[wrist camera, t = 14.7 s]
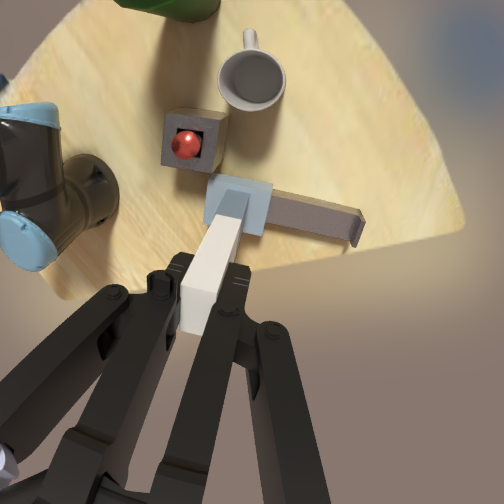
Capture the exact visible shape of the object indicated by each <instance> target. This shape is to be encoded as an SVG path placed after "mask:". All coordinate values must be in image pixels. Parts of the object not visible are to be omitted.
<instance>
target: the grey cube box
mask: <svg viewBox="0 0 504 504" xmlns="http://www.w3.org/2000/svg"><path fill="white" fill-rule="evenodd" d="M229 118H230V113H224V112H217V111H210V110H202V109H194V108H186V107H182V108H179V109H176V110H173V111H170V112H167V113H165V121H164V131H163V142H162V154H161V165H163V166H169V167H176V168H182V169H188V170H194V171H200V172H206V173H211V174H212V173H213V172H214V171H215V169H216V168H217V167H218V165H219V164H220V163H221V161H222V160H223V155H224V149H225V142H226V136H227V130H228V124H229ZM190 130H196V131H203V132H204V135H203V142H202V146H201V148H200V150H199V152H198V153H197V154H196V155H195V156H194V157H193V158H191V159H187V160H184V159H180V158H178V157H177V156H176V155H175V154H174V153H173V151H172V148H171V143H172V140H173V138H174V136H175V135H177V134H178V133H180V132H182V131H190Z"/></svg>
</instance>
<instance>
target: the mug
mask: <svg viewBox="0 0 504 504" xmlns="http://www.w3.org/2000/svg"><path fill="white" fill-rule="evenodd" d="M243 43H244V49H243V50H240V51H237V52H235V53H233V54H232V55H230V56H229V57H228V58H227V59H226V60H225V61H224V62H223V63H222V65H221V67H220V69H219V72H218V78H217V82H218V88H219V91H220V93H221V95H222V97H223V98H224V99H225V101H226V102H227V103H229V104H230V105H231V106H233V107H235V108H236V109H239V110H242V111H248V112H255V111H261V110H264V109H266V108H268V107H270V106H272V105H273V104H274V103H275V102H277V100H278V99H279V98H280V97H281V95H282V93H283V91H284V89H285V86H286V74H285V71H284V69H283V67H282V65H281V64H280V62H279V61H278V60H277V59H276V58H275V57H274V56H273V55H271V54H270V53H268V52H266V51H263V50H260V49H259V45H258V38H257V34H256V31H255V30H254V29H253V28H247V29H245V30H244V31H243Z"/></svg>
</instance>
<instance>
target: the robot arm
mask: <svg viewBox="0 0 504 504" xmlns="http://www.w3.org/2000/svg"><path fill="white" fill-rule="evenodd" d="M60 131H61V127H60V123H59V111H58V108H57V106H56V105H55V104H54V103H52V102H41V103H30V104H21V105H14V106H7V107H0V201H1V206H2V211H1V212H0V247H1V249H2V250H3V252H4V253H5V254H6V256H7V257H8V258H9V259H10V260H11V261H12V262H14V263H15V264H16V265H17V266H19V267H20V268H22V269H24V270H27V271H31V272H38V271H41V270H43V269H44V268H46V267H47V266H48V265H49V264H50V263H51V262H53V261H55V260H56V258H57V257H58V256H59V255H60V254H61V253H62V252H63V251H64V250H65V249H66V248H67V247H68V245H69V244H70V243H71V242H72V241H73V240H74V239H75V238H76V237H77V236H78V235H79V234H80V233H81V232H82V231H84V230H87V229H90V228H93V227H96V226H99V225H101V224H103V223H104V222H106V221H107V220H108V219H109V218H110V217H111V216H112V215H113V214H114V212H115V211H116V208H117V206H118V202H119V189H118V184H117V181H116V178H115V176H114V174H113V172H112V171H111V169H110V168H109V167H108V165H107V164H106V163H105V162H103V161H102V160H101V159H99V158H98V157H96V156H93V155H90V154H80V155H76V156H74V157H72V158H70V159H69V160H67V161H66V162H65V163H63V160H62V149H61V135H60ZM241 221H242V220H241V219H236V218H232V217H227V216H222V215H217V214H216V216H215V217H214V219H213V221H212V223H211V225H210V227H209V229H208V231H207V233H206V235H205V237H204V239H203V241H202V243H201V245H200V246H199V248H198V250H197V252H196V254H195V255H193V254H189V253H184V252H180V253H178V254H176V255H175V256H174V257H173V258H172V260H171V262H170V264H169V265H168V267H167V269H166V270H156V271H153V272H151V273H149V274H148V275H147V293H143V294H129V293H128V290H127V289H126V288H125V287H124V286H122V285H119V284H111V285H107V286H105V287H104V288H102V289H101V290H100V291H99V292H97V293H96V294H95V295H94V296H93V297H92V298H90V299H89V300H88V301H87V302H86V303H85V304H83V305H82V306H81V307H80V308H79V309H78V310H77V311H75V312H74V313H73V314H72V315H71V316H70V317H69V318H67V319H66V320H65V321H64V322H63V323H62V324H61V325H60V326H58V327H57V328H56V329H55V330H54V331H53V332H52V333H51V334H50V335H49V336H47V337H46V338H45V339H44V340H43V341H42V342H41V343H40V344H39V345H38V346H37V347H36V348H35V349H33V350H32V351H31V352H30V353H29V354H28V355H27V356H26V357H25V358H24V359H23V360H22V361H21V362H20V363H19V364H18V365H17V366H16V367H15V368H14V369H13V370H12V371H11V372H10V373H9V374H8V375H7V376H6V377H5V378H4V379H3V380H2V381H1V382H0V504H202V499H203V494H204V490H205V486H206V481H207V477H208V472H209V467H210V463H211V457H212V453H213V449H214V445H215V440H216V435H217V431H218V426H219V422H220V417H221V413H222V408H223V404H224V399H225V394H226V390H227V385H228V381H229V376H230V372H231V367H232V362H235V363H237V364H239V365H241V366H242V367H245V368H246V377H247V385H248V393H249V400H250V408H251V416H252V423H253V431H254V438H255V445H256V452H257V459H258V466H259V473H260V480H261V487H262V493H263V500H264V504H331V501H330V497H329V493H328V488H327V485H326V480H325V476H324V472H323V467H322V463H321V459H320V456H319V451H318V447H317V443H316V439H315V435H314V431H313V427H312V422H311V418H310V414H309V410H308V406H307V402H306V399H305V395H304V391H303V387H302V383H301V379H300V375H299V371H298V367H297V363H296V359H295V356H294V352H293V348H292V344H291V340H290V336H289V333H288V331H287V329H286V328H285V327H284V326H283V325H282V324H280V323H278V322H274V321H265V322H263V323H261V324H259V323H257V322H255V321H253V320H251V319H250V318H249V317H248V316H247V314H246V313H245V310H244V307H245V302H246V297H247V292H248V287H249V282H250V278H251V271H250V268H249V266H245V265H241V264H236V263H234V259H235V254H236V248H237V243H238V237H239V232H240V227H241ZM178 325H179V330H181V331H185V332H189V333H193V334H197V335H201V336H202V338H201V341H200V344H199V347H198V350H197V353H196V356H195V359H194V362H193V365H192V368H191V371H190V374H189V378H188V381H187V384H186V387H185V390H184V393H183V396H182V399H181V403H180V406H179V409H178V412H177V415H176V419H175V422H174V425H173V428H172V431H171V435H170V438H169V441H168V445H167V448H166V451H165V454H164V457H163V459H162V461H161V462H160V463H159V466H158V468H157V471H156V474H155V477H154V480H153V484H152V487H151V490H150V493H142V492H132V491H127V490H125V489H124V488H125V485H126V482H127V478H128V467H129V463H130V460H131V457H132V454H133V451H134V448H135V445H136V443H137V440H138V437H139V434H140V432H141V429H142V426H143V423H144V420H145V418H146V415H147V412H148V410H149V407H150V404H151V401H152V399H153V396H154V393H155V390H156V388H157V385H158V383H159V380H160V377H161V375H162V372H163V370H164V367H165V364H166V362H167V359H168V357H169V354H170V351H171V349H172V347H173V344H174V341H175V339H176V329H177V327H178ZM102 372H103V373H102ZM101 373H102V375H101ZM100 375H101V376H100ZM99 376H100V379H99V381H98V383H97V384H96V386H95V388H94V391H93V393H92V394H91V396H90V398H89V400H88V403H87V405H86V407H85V409H84V411H83V413H82V415H81V417H80V419H79V421H78V423H77V425H76V426H75V427H73V428H69V429H68V430H67V431H66V432H65V434H64V435H63V437H62V439H61V441H60V444H59V446H58V448H57V450H56V453H55V455H54V457H53V459H52V462H51V464H50V466H49V469H46V470H44V471H42V472H40V473H38V474H36V475H33V476H31V477H29V478H27V479H24V480H22V481H20V482H18V483H15V484H13V485H11V486H8V485H9V483H10V482H11V481H12V480H13V479H17V478H18V476H19V470H18V467H17V464H18V463H20V462H22V461H23V460H24V459H26V458H27V457H28V456H29V455H31V454H32V453H33V452H34V450H35V449H36V448H37V447H38V446H39V445H40V444H41V443H42V441H43V440H44V439H45V438H46V437H47V436H48V434H49V433H50V432H51V431H52V429H53V428H54V427H55V426H56V425H57V424H58V423H59V421H60V420H61V419H62V418H63V417H64V416H65V414H66V413H67V412H68V411H69V410H70V409H71V407H72V406H73V405H74V404H75V403H76V402H77V401H78V399H79V398H80V397H81V396H82V395H83V394H84V393H85V392H86V390H87V389H88V388H89V387H90V386H91V385H92V384H93V382H94V381H95V380H96V379H97V378H98V377H99Z"/></svg>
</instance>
